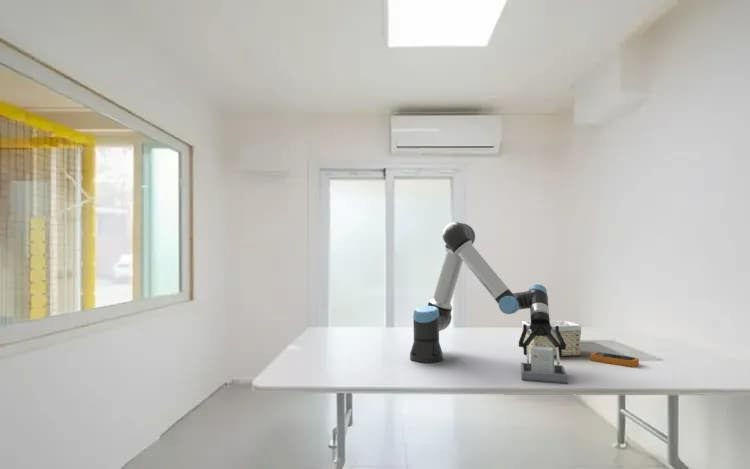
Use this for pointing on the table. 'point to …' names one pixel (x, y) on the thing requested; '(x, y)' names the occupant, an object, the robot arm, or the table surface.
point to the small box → (542, 360)
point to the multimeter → (614, 359)
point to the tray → (544, 374)
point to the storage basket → (567, 331)
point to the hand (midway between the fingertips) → (543, 362)
